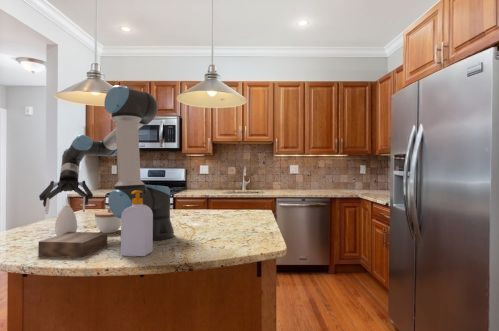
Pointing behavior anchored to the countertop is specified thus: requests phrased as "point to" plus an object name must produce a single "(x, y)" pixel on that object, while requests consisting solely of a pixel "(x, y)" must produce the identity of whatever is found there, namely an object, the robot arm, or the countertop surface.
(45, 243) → the walnut stand
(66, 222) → the grey teardrop shape
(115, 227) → the lidded bowl
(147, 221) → the soap bottle
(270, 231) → the countertop surface
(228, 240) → the countertop surface
